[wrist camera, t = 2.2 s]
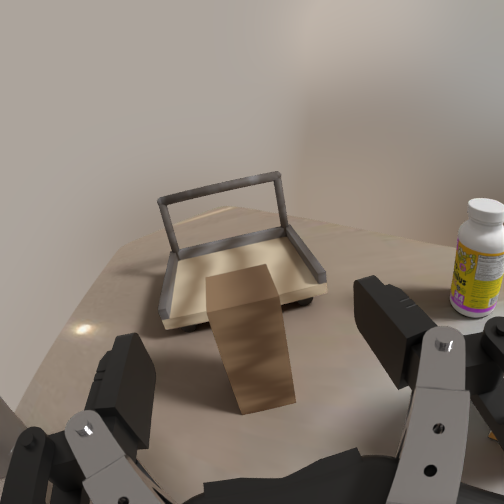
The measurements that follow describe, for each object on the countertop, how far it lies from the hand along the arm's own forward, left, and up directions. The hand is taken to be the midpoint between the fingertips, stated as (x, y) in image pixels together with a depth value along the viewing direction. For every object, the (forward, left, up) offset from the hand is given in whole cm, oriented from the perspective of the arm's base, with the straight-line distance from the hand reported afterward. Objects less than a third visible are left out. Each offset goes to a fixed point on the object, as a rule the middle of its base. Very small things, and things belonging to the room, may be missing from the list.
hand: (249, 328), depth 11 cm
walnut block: (0, +11, -17) cm, 20 cm away
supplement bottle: (+27, +13, -17) cm, 34 cm away
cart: (0, +30, -17) cm, 35 cm away
